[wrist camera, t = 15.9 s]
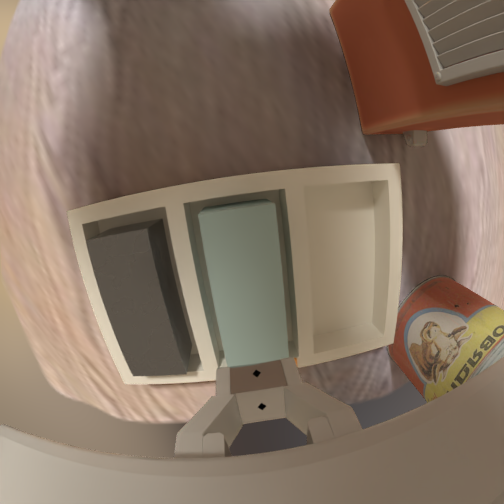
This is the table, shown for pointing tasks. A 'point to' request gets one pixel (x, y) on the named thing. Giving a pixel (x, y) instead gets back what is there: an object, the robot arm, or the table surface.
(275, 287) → the panel
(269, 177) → the cream compartment tray
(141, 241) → the dark grey long block
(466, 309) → the canned food
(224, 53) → the table surface
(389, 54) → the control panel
